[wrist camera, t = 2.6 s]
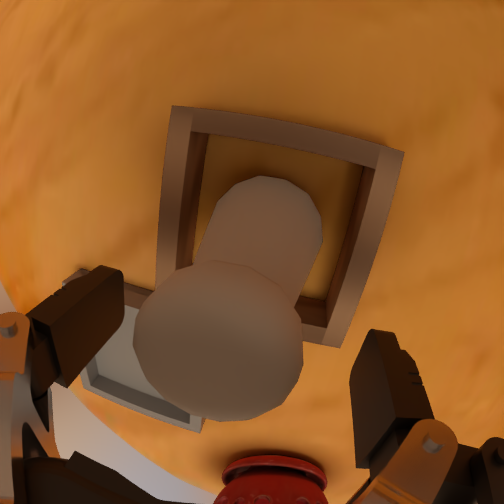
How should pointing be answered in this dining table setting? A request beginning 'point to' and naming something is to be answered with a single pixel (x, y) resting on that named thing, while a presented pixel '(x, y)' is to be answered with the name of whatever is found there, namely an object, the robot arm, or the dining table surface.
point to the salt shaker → (234, 306)
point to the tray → (130, 369)
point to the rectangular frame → (292, 136)
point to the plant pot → (272, 481)
